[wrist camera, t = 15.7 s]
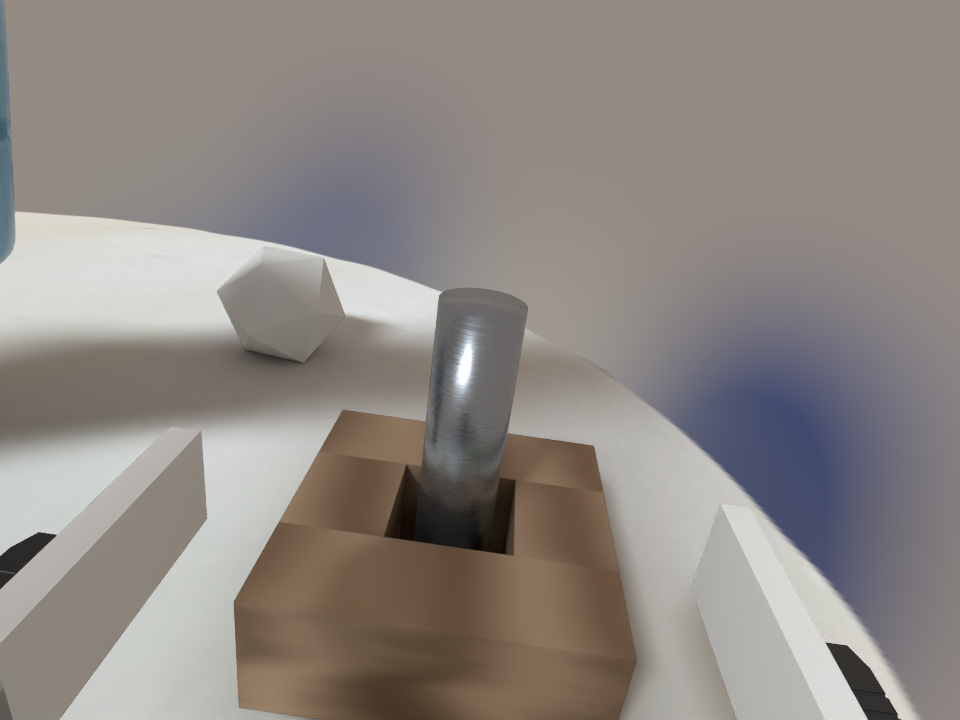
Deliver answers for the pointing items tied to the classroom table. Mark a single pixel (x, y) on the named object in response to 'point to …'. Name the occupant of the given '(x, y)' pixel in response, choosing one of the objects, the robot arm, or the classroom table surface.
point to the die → (282, 303)
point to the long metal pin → (468, 415)
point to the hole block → (436, 592)
